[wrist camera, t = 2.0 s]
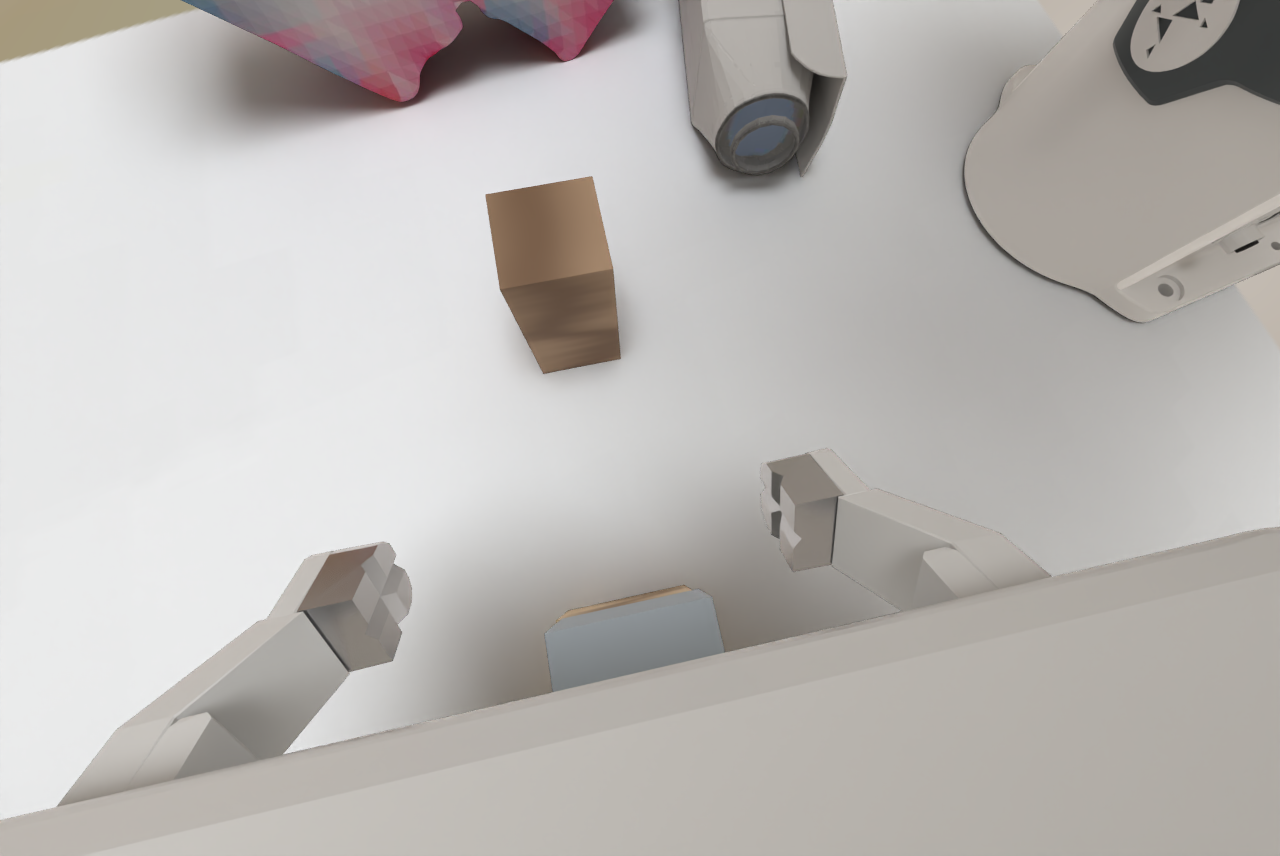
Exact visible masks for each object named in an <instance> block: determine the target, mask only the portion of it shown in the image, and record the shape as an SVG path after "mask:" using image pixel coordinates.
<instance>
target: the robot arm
mask: <svg viewBox="0 0 1280 856" xmlns="http://www.w3.org/2000/svg"><path fill="white" fill-rule="evenodd" d="M964 174H965V184H966V189H967V193H968V197H969V200H970V202H971V205H972V207H973V209H974V211H975V213H976V215H977V217H978V218H979V220H980V222H981V223H982V225H983V226H984V228H985V229H986V230H987V232H988V233H989V234H990V235H991V236H992V238H993V239H994V240H995V241H996V242H997V243H998V244H999V245H1000V246H1001V247H1002V248H1003V249H1004V250H1005V251H1007V252H1008V253H1009V254H1010V255H1011V256H1013V257H1014V258H1015V259H1017V260H1018V261H1019V262H1021V263H1022V264H1024V265H1025V266H1027V267H1029V268H1030V269H1032V270H1034V271H1036V272H1038V273H1040V274H1041V275H1044V276H1046V277H1048V278H1050V279H1053V280H1055V281H1058V282H1061V283H1064V284H1067V285H1070V286H1073V287H1076V288H1079V289H1081V290H1084V291H1087V292H1089V293H1091V294H1093V295H1095V296H1096V297H1097V298H1099V299H1100V300H1101V301H1103V302H1104V303H1105V304H1107V305H1108V306H1109V307H1111V308H1112V309H1114V310H1115V311H1117V312H1118V313H1120V314H1121V315H1123V316H1125V317H1126V318H1128V319H1131V320H1133V321H1136V322H1149V321H1152V320H1154V319H1157V318H1159V317H1161V316H1163V315H1166V314H1168V313H1170V312H1172V311H1175V310H1177V309H1179V308H1182V307H1184V306H1186V305H1188V304H1191V303H1193V302H1195V301H1198V300H1200V299H1202V298H1204V297H1207V296H1209V295H1211V294H1213V293H1216V292H1218V291H1220V290H1223V289H1225V288H1227V287H1229V286H1232V285H1234V284H1236V283H1238V282H1240V281H1243V280H1245V279H1248V278H1250V277H1252V276H1254V275H1257V274H1259V273H1261V272H1263V271H1266V270H1268V269H1270V268H1273V267H1275V266H1277V265H1280V0H1097V2H1096V3H1095V4H1094V5H1093V6H1092V7H1091V8H1090V9H1089V10H1088V11H1087V12H1086V13H1085V14H1084V15H1083V16H1082V18H1081V19H1080V20H1079V21H1078V22H1077V23H1076V24H1075V25H1074V26H1073V27H1072V28H1071V29H1070V30H1069V31H1068V32H1067V33H1066V35H1065V36H1064V37H1063V38H1062V39H1061V40H1060V41H1059V42H1058V43H1057V44H1056V45H1055V46H1054V47H1053V48H1052V50H1051V51H1050V52H1049V53H1048V54H1047V55H1046V56H1045V57H1044V58H1043V59H1042V60H1041V61H1040V62H1039V64H1038V65H1027V66H1024V67H1022V68H1020V69H1019V70H1018V71H1017V72H1016V73H1015V74H1014V75H1013V76H1012V77H1011V78H1010V80H1009V81H1008V82H1007V83H1006V84H1005V86H1004V89H1003V92H1002V95H1001V99H1000V104H999V108H998V109H997V111H996V112H995V114H994V115H993V116H992V117H991V118H990V119H989V120H988V121H987V122H986V123H985V124H984V125H983V126H982V127H981V128H980V129H979V130H978V132H977V133H976V135H975V136H974V138H973V140H972V141H971V144H970V146H969V148H968V151H967V155H966V160H965V171H964ZM760 479H761V481H762V482H763V484H764V485H765V489H764V490H763V491H762V493H761V494H760V495H761V508H762V513H763V517H764V520H765V523H766V525H767V528H768V529H769V531H770V533H771V535H773V536H774V537H776V538H778V539H780V551H781V552H782V554H783V556H784V558H785V559H786V561H787V563H788V564H789V566H790V568H791V570H792V571H793V572H795V571H800V570H806V569H811V568H816V567H821V566H826V565H831V564H832V567H834V568H835V569H837V570H839V571H840V572H842V573H843V574H845V575H846V576H848V577H849V578H851V579H853V580H854V581H856V582H857V583H859V584H860V585H862V586H863V587H865V588H867V589H868V590H870V591H871V592H873V593H874V594H876V595H877V596H879V597H881V598H882V599H884V600H885V601H887V602H888V603H890V604H891V605H893V606H895V607H896V608H898V609H899V610H901V611H902V612H898V613H894V614H889V615H885V616H881V617H876V618H872V619H868V620H863V621H859V622H855V623H850V624H846V625H842V626H837V627H833V628H829V629H824V630H820V631H816V632H812V633H807V634H803V635H799V636H794V637H790V638H786V639H781V640H777V641H773V642H768V643H764V644H760V645H755V646H751V647H747V648H742V649H738V650H734V651H729V652H725V653H721V654H716V655H712V656H708V657H703V658H699V659H695V660H690V661H686V662H682V663H677V664H673V665H668V666H664V667H660V668H655V669H651V670H647V671H642V672H638V673H634V674H629V675H625V676H621V677H617V678H612V679H608V680H604V681H599V682H595V683H591V684H586V685H582V686H578V687H573V688H569V689H565V690H560V691H556V692H552V693H547V694H543V695H539V696H534V697H530V698H526V699H521V700H517V701H513V702H509V703H504V704H500V705H496V706H491V707H487V708H483V709H478V710H474V711H470V712H465V713H461V714H457V715H452V716H448V717H444V718H439V719H435V720H431V721H426V722H422V723H418V724H413V725H409V726H405V727H400V728H396V729H392V730H387V731H383V732H379V733H375V734H370V735H366V736H362V737H357V738H353V739H349V740H344V741H340V742H336V743H331V744H327V745H323V746H318V747H314V748H310V749H305V750H301V751H297V752H292V753H288V754H284V755H283V753H284V752H285V751H286V750H287V749H288V748H289V746H290V745H291V744H292V743H293V742H294V740H295V739H296V738H297V737H298V736H299V734H300V733H301V732H302V731H303V730H304V728H305V727H306V726H307V725H308V724H309V722H310V721H311V720H312V719H313V718H314V716H315V715H316V714H317V713H318V712H319V710H320V709H321V708H322V707H323V706H324V704H325V703H326V702H327V701H328V700H329V698H330V697H331V696H332V695H333V694H334V692H335V691H336V690H337V689H338V688H339V686H340V685H341V684H342V683H343V682H344V680H345V679H346V678H347V677H348V676H349V674H350V673H349V672H351V671H355V670H359V669H363V668H367V667H371V666H375V665H379V664H383V663H387V662H391V661H393V659H394V656H395V653H396V650H397V647H398V644H399V641H400V638H401V635H402V631H401V629H400V628H399V626H398V624H399V623H400V622H401V621H402V620H403V619H404V618H405V617H406V616H407V615H408V613H409V610H410V606H411V603H412V587H411V583H410V579H409V577H408V575H407V573H406V571H405V570H404V569H402V568H400V567H399V566H397V565H395V564H393V563H394V560H395V557H396V553H395V552H394V550H393V548H392V547H391V545H390V543H386V542H378V543H372V544H367V545H361V546H356V547H351V548H345V549H340V550H336V551H330V552H325V553H320V554H315V555H311V556H310V557H308V558H306V559H304V561H303V562H302V564H301V566H300V567H299V569H298V570H297V572H296V573H295V575H294V577H293V578H292V580H291V581H290V583H289V584H288V586H287V588H286V589H285V591H284V592H283V594H282V595H281V597H280V599H279V600H278V602H277V603H276V605H275V606H274V608H273V610H272V611H271V613H270V614H269V616H268V617H267V619H265V620H261V621H258V622H256V623H255V624H254V625H252V626H251V627H250V628H248V629H247V630H246V631H244V632H243V633H242V634H241V635H239V636H238V637H237V638H235V639H234V640H233V641H231V642H230V643H229V644H228V645H226V646H225V647H224V648H222V649H221V650H220V651H218V652H217V653H216V654H215V655H213V656H212V657H211V658H209V659H208V660H207V661H205V662H204V663H203V664H201V665H200V666H199V667H198V668H196V669H195V670H194V671H192V672H191V673H190V674H188V675H187V676H186V677H185V678H183V679H182V680H181V681H179V682H178V683H177V684H175V685H174V686H173V687H172V688H170V689H169V690H168V691H166V692H165V693H164V694H162V695H161V696H160V697H158V698H157V699H156V700H155V701H153V702H152V703H151V704H149V705H148V706H147V707H145V708H144V709H143V710H142V711H140V712H139V713H138V714H136V715H135V716H134V717H132V718H131V719H130V720H129V721H127V722H126V723H125V724H123V725H122V726H121V727H119V728H118V729H117V730H116V731H115V732H114V733H113V734H112V736H111V737H110V738H109V740H108V741H107V742H106V743H105V745H104V746H103V747H102V749H101V750H100V751H99V753H98V754H97V755H96V756H95V758H94V759H93V760H92V762H91V763H90V764H89V765H88V767H87V768H86V769H85V771H84V772H83V773H82V775H81V776H80V777H79V778H78V780H77V781H76V782H75V784H74V785H73V786H72V787H71V789H70V790H69V791H68V793H67V794H66V795H65V796H64V798H63V799H62V800H61V802H60V803H59V804H58V806H57V807H55V808H50V809H46V810H42V811H37V812H33V813H29V814H24V815H20V816H16V817H11V818H7V819H3V820H0V856H1280V527H1274V528H1264V529H1258V530H1252V531H1247V532H1242V533H1238V534H1234V535H1230V536H1226V537H1221V538H1217V539H1213V540H1209V541H1205V542H1201V543H1196V544H1192V545H1188V546H1183V547H1179V548H1175V549H1170V550H1166V551H1162V552H1157V553H1153V554H1149V555H1144V556H1140V557H1136V558H1131V559H1127V560H1123V561H1118V562H1114V563H1110V564H1105V565H1101V566H1097V567H1092V568H1088V569H1084V570H1080V571H1075V572H1071V573H1067V574H1062V575H1058V576H1054V577H1052V576H1051V575H1049V574H1048V573H1047V572H1046V571H1045V570H1043V569H1042V568H1041V567H1040V566H1039V565H1038V564H1036V563H1035V562H1034V561H1033V560H1032V559H1030V558H1029V557H1028V556H1027V555H1026V554H1025V553H1023V552H1022V551H1021V550H1020V549H1019V548H1017V547H1016V546H1015V545H1014V544H1013V543H1012V542H1010V541H1009V540H1008V539H1007V538H1006V537H1004V536H1003V535H1002V534H1001V533H999V532H996V531H993V530H990V529H987V528H985V527H982V526H979V525H976V524H974V523H971V522H968V521H965V520H963V519H960V518H957V517H954V516H951V515H949V514H946V513H943V512H940V511H938V510H935V509H932V508H929V507H927V506H924V505H921V504H918V503H915V502H913V501H910V500H907V499H904V498H902V497H899V496H896V495H893V494H891V493H888V492H885V491H882V490H879V489H872V490H870V489H869V488H868V487H867V486H866V485H865V484H864V483H863V482H862V481H861V480H860V479H859V478H858V477H857V476H856V475H855V474H854V473H853V472H852V471H851V469H850V468H849V467H848V466H847V465H846V464H845V463H844V462H843V461H842V460H841V459H840V458H839V457H838V456H837V455H836V454H835V453H834V452H833V451H832V450H831V449H828V448H825V449H821V450H817V451H812V452H808V453H805V454H803V455H798V456H793V457H789V458H784V459H779V460H774V461H770V462H765V463H762V464H761V468H760Z"/></svg>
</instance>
